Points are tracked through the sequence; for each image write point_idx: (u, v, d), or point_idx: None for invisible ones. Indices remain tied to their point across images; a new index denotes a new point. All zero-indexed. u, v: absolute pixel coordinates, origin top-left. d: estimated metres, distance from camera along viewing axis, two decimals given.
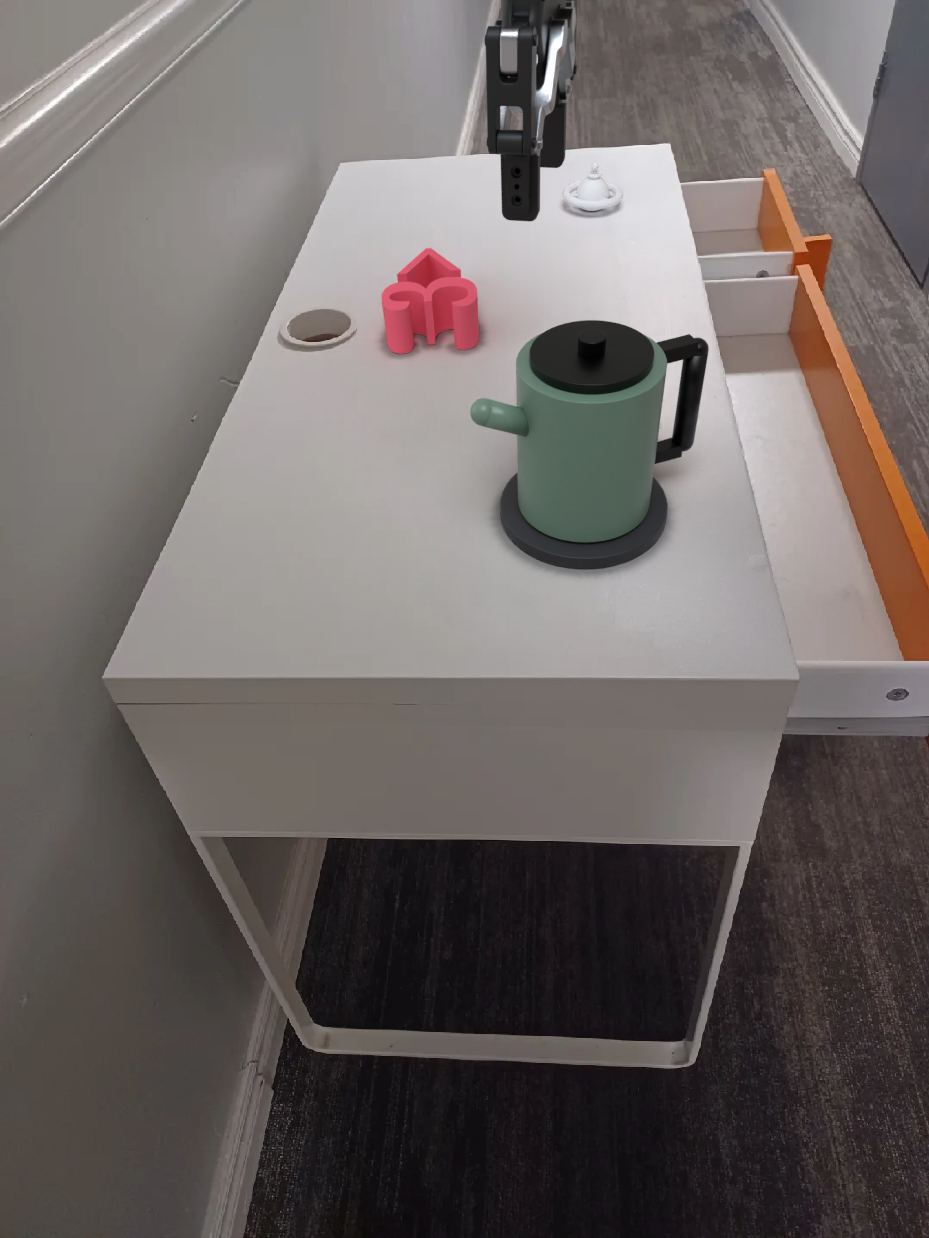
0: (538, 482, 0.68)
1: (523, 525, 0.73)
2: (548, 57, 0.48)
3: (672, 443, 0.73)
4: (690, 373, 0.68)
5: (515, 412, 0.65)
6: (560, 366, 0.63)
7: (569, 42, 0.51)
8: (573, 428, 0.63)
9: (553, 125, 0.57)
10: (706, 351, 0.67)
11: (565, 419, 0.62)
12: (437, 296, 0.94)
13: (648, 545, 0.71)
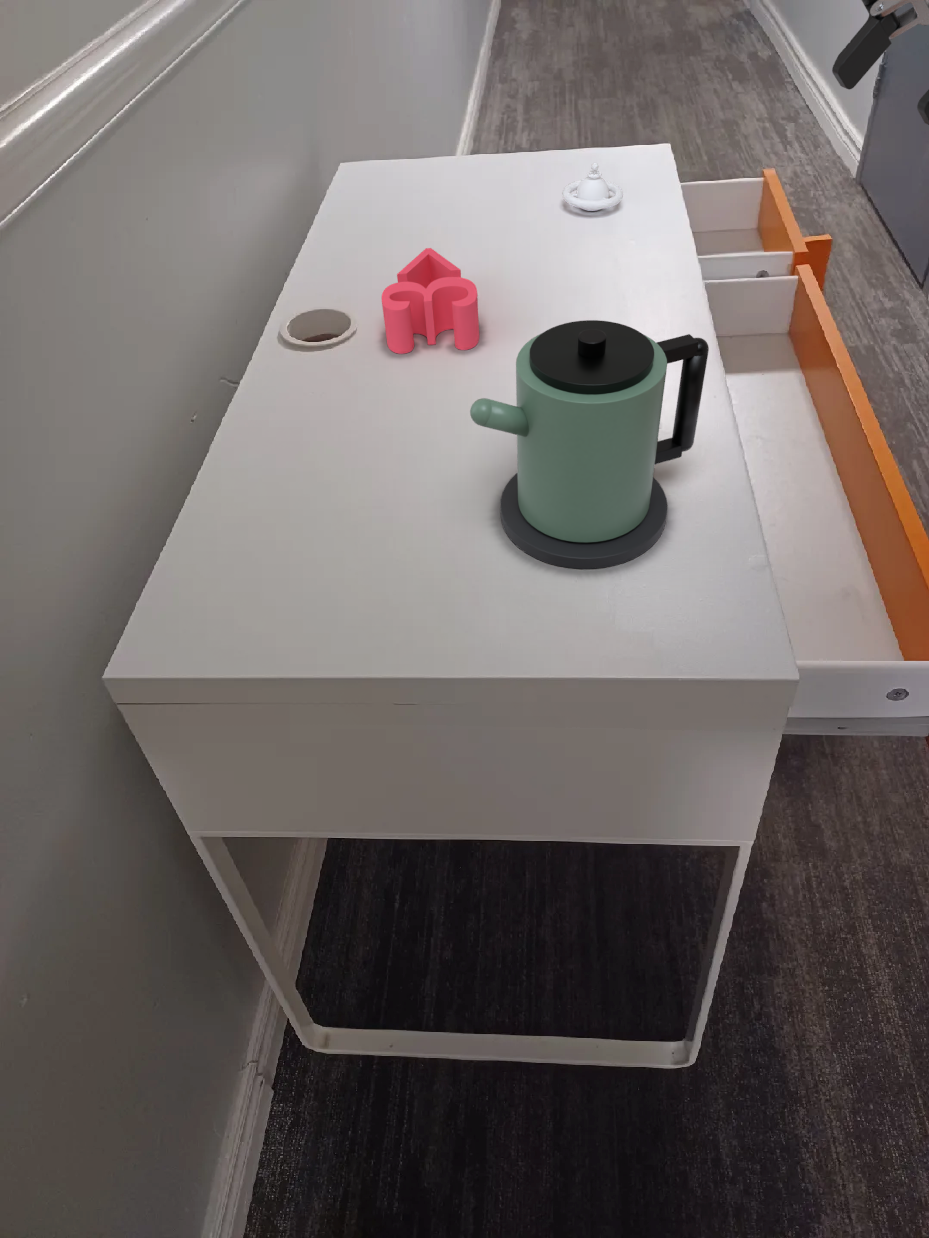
0: (538, 482, 0.68)
1: (523, 525, 0.73)
2: None
3: (672, 443, 0.73)
4: (690, 373, 0.68)
5: (515, 412, 0.65)
6: (560, 366, 0.63)
7: None
8: (573, 428, 0.63)
9: None
10: (706, 351, 0.67)
11: (565, 419, 0.62)
12: (437, 296, 0.94)
13: (648, 545, 0.71)
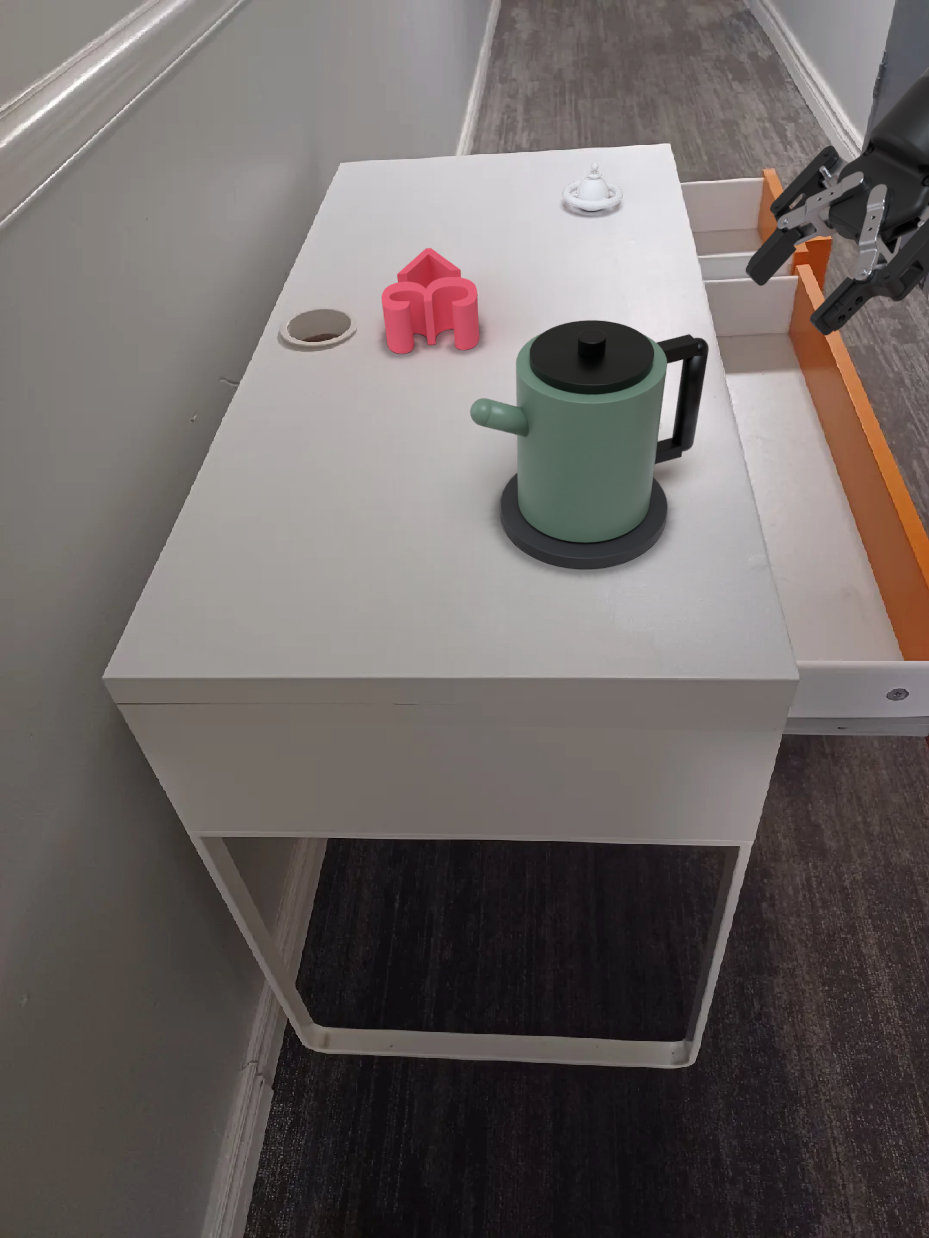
0: (538, 482, 0.68)
1: (523, 525, 0.73)
2: None
3: (672, 443, 0.73)
4: (690, 373, 0.68)
5: (515, 412, 0.65)
6: (560, 366, 0.63)
7: (867, 208, 0.62)
8: (573, 428, 0.63)
9: None
10: (706, 351, 0.67)
11: (565, 419, 0.62)
12: (437, 296, 0.94)
13: (648, 545, 0.71)
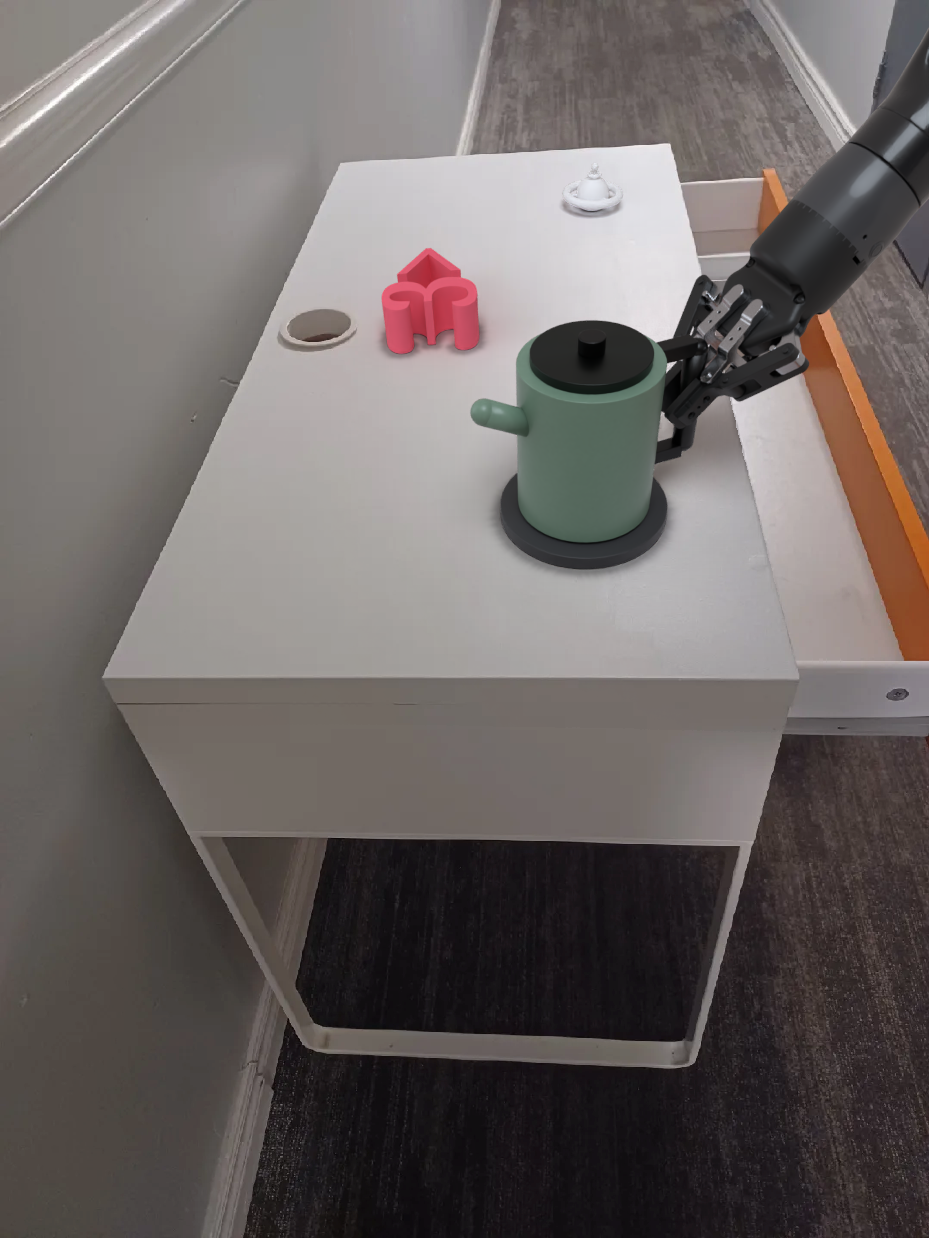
0: (538, 482, 0.68)
1: (523, 525, 0.73)
2: (722, 297, 0.68)
3: (672, 443, 0.73)
4: (690, 373, 0.68)
5: (515, 412, 0.65)
6: (560, 366, 0.63)
7: None
8: (573, 428, 0.63)
9: None
10: (706, 351, 0.67)
11: (565, 419, 0.62)
12: (437, 296, 0.94)
13: (648, 545, 0.71)
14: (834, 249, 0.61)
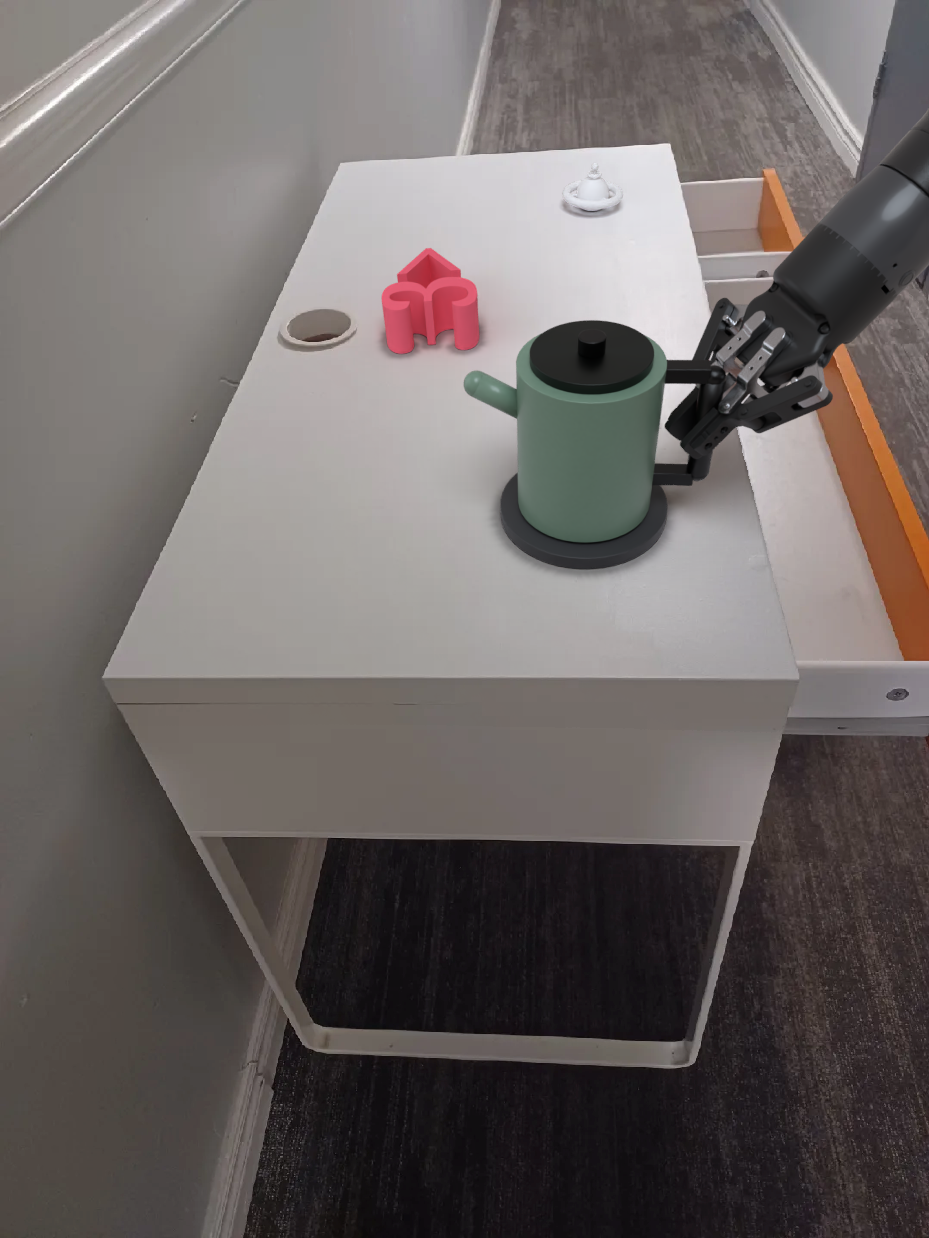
0: (521, 466, 0.69)
1: (523, 525, 0.73)
2: (743, 323, 0.65)
3: (684, 469, 0.71)
4: (702, 400, 0.65)
5: (506, 392, 0.67)
6: (551, 357, 0.64)
7: (763, 344, 0.63)
8: (542, 419, 0.64)
9: None
10: (720, 381, 0.64)
11: (536, 409, 0.63)
12: (437, 296, 0.94)
13: (648, 545, 0.71)
14: (862, 278, 0.58)
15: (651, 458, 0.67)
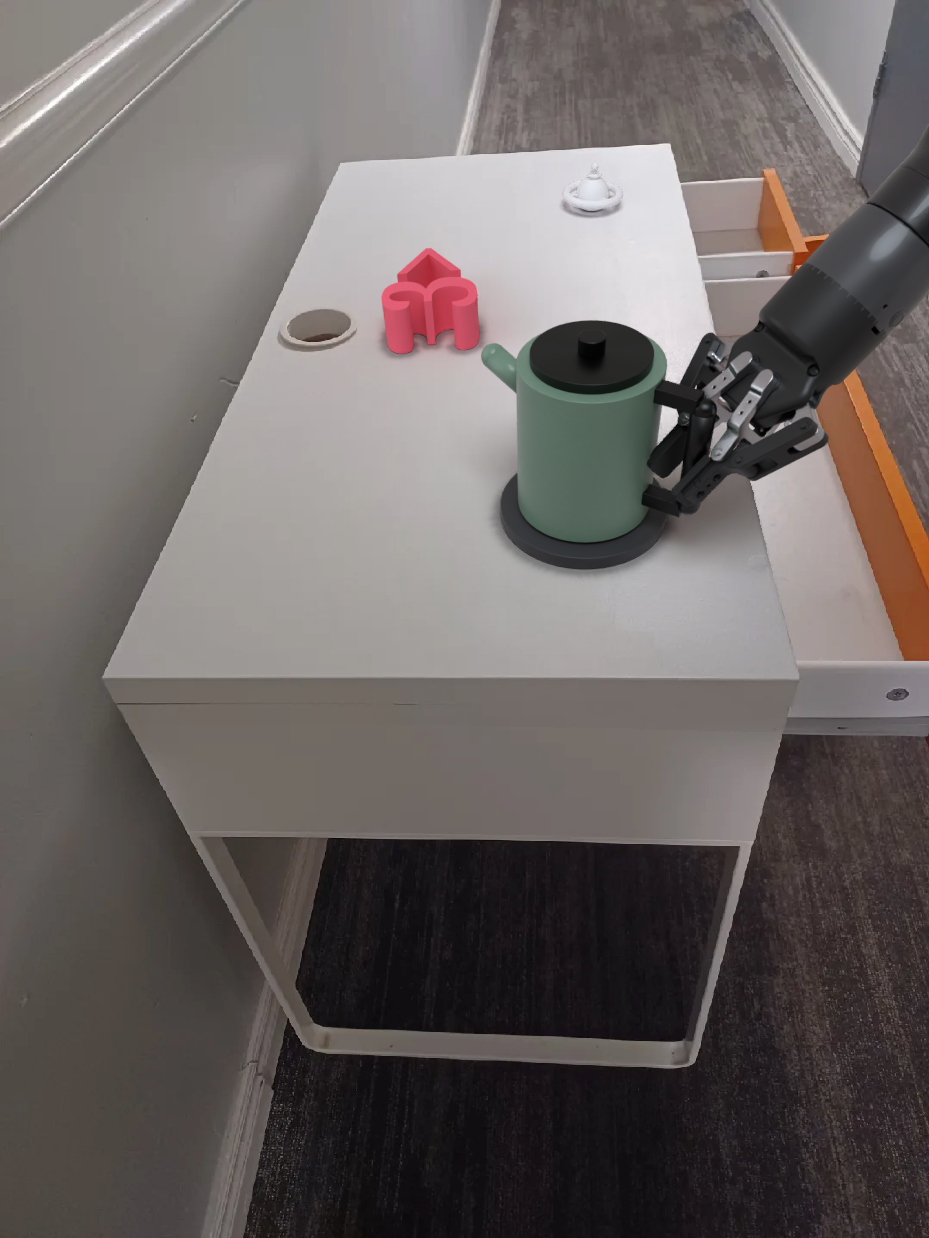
0: None
1: (523, 525, 0.73)
2: (729, 363, 0.63)
3: None
4: (688, 430, 0.63)
5: (515, 371, 0.68)
6: (550, 347, 0.65)
7: None
8: (521, 403, 0.65)
9: None
10: (704, 415, 0.61)
11: (518, 391, 0.65)
12: (437, 296, 0.94)
13: (648, 545, 0.71)
14: (851, 319, 0.56)
15: (629, 474, 0.66)
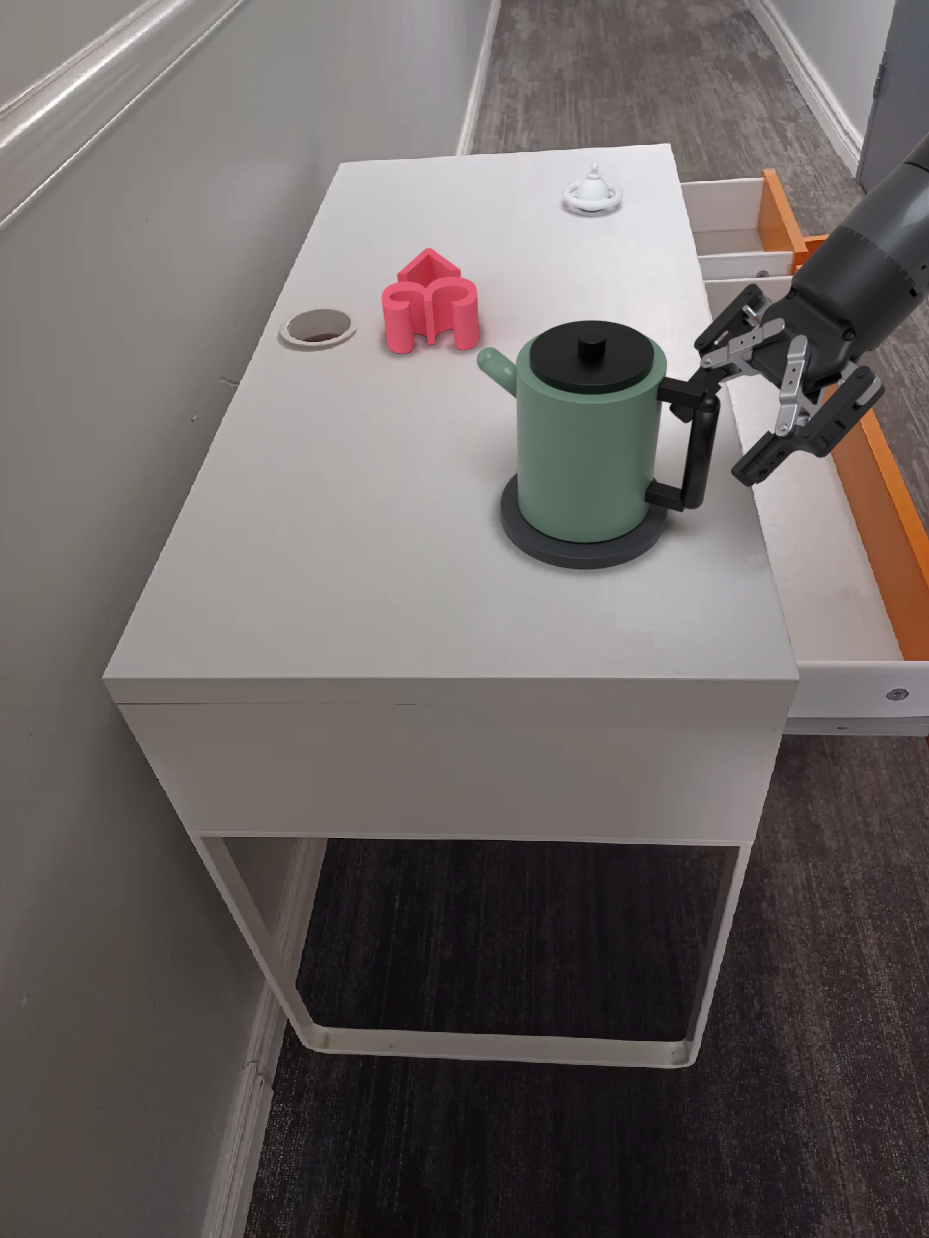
0: None
1: (523, 525, 0.73)
2: None
3: (678, 494, 0.69)
4: (692, 426, 0.63)
5: (512, 374, 0.68)
6: (549, 348, 0.64)
7: (788, 359, 0.59)
8: (523, 406, 0.65)
9: None
10: (709, 410, 0.61)
11: (520, 394, 0.65)
12: (437, 296, 0.94)
13: (648, 545, 0.71)
14: (889, 281, 0.55)
15: (634, 472, 0.66)
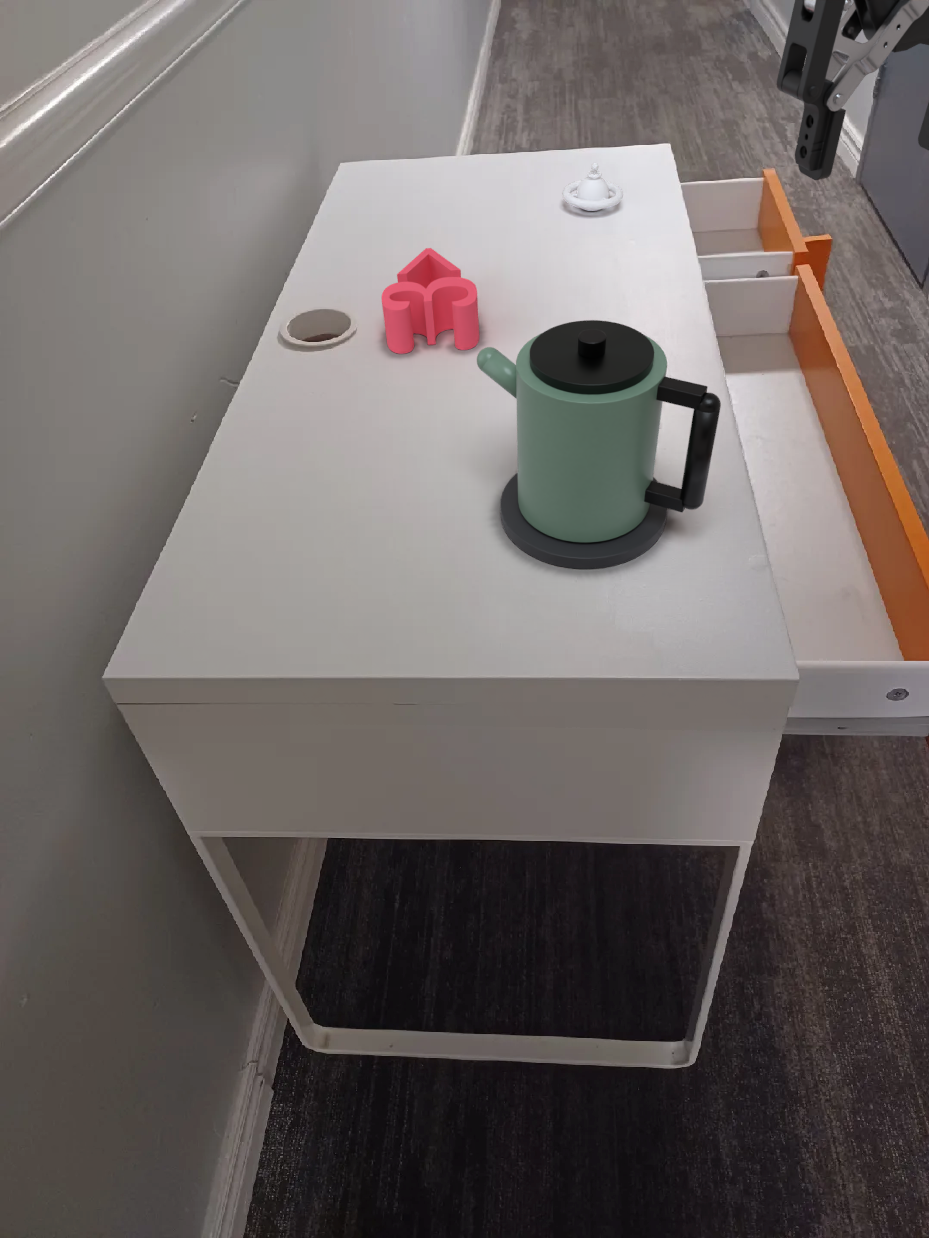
0: None
1: (523, 525, 0.73)
2: (891, 12, 0.45)
3: (678, 494, 0.69)
4: (692, 426, 0.63)
5: (512, 374, 0.68)
6: (549, 348, 0.64)
7: None
8: (523, 406, 0.65)
9: None
10: (709, 410, 0.61)
11: (520, 394, 0.65)
12: (437, 296, 0.94)
13: (648, 545, 0.71)
14: None
15: (634, 472, 0.66)
